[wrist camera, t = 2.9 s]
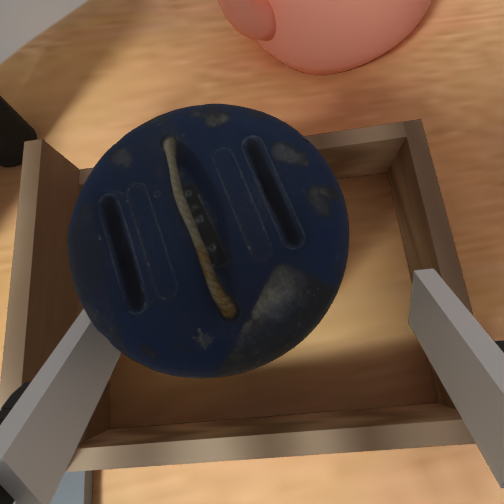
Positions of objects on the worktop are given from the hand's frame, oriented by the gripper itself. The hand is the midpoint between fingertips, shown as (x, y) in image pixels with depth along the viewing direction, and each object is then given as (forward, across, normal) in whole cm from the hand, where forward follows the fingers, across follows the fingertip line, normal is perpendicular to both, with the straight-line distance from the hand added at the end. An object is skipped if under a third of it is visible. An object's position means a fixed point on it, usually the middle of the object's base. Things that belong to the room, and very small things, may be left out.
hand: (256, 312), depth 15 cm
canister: (+10, -1, -6) cm, 12 cm away
